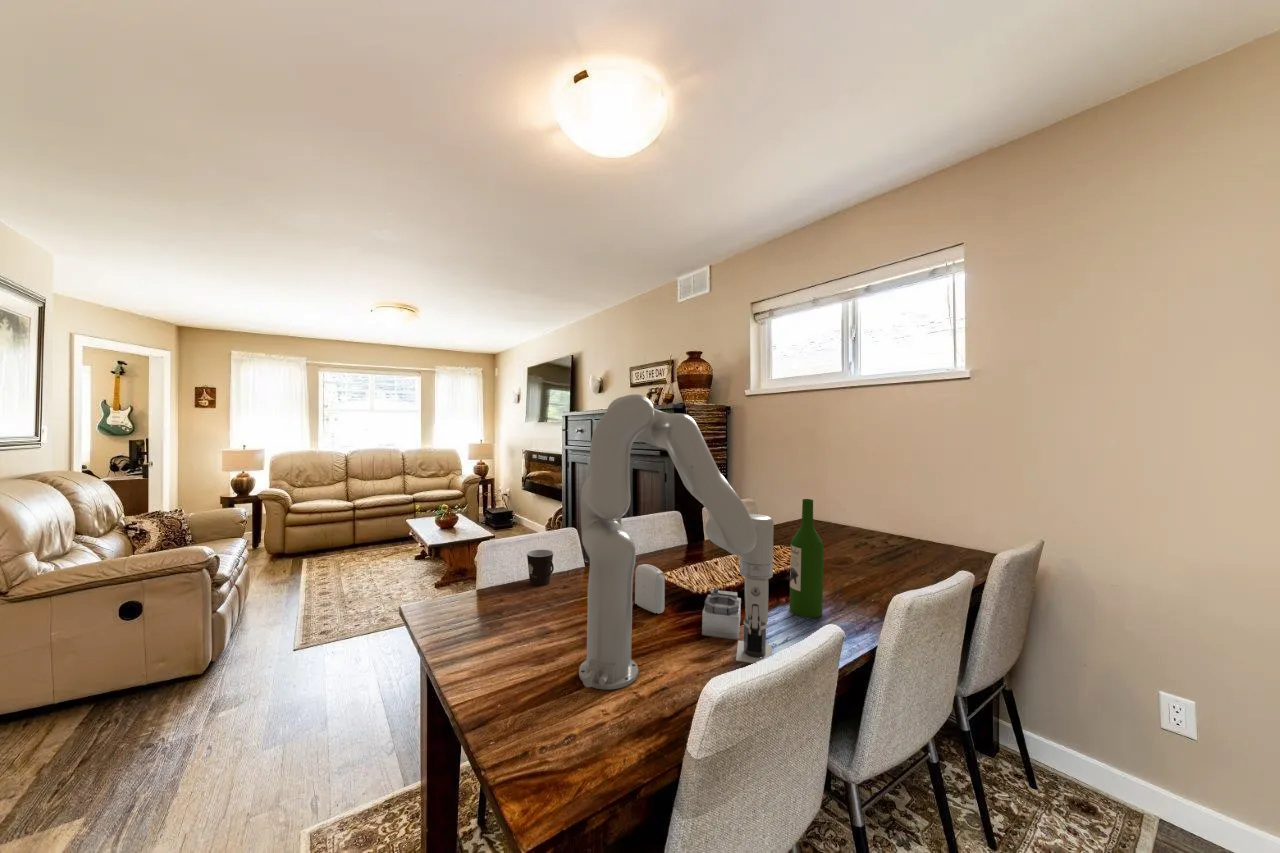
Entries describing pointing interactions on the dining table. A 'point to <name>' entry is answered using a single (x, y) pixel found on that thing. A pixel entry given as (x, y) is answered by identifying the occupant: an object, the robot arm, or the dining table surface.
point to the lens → (763, 632)
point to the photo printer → (650, 588)
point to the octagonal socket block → (721, 614)
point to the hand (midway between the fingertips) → (754, 644)
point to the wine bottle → (806, 567)
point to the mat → (745, 658)
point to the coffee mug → (540, 567)
